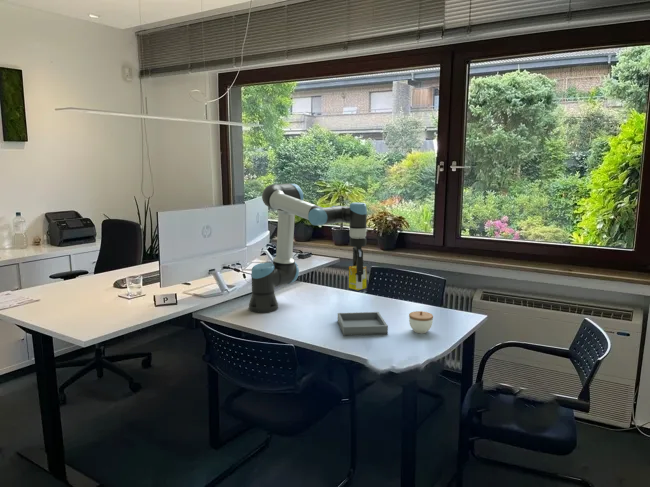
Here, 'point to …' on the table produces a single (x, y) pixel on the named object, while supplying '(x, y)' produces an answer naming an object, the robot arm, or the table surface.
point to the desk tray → (362, 324)
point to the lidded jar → (420, 321)
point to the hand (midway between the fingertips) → (357, 285)
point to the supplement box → (353, 278)
